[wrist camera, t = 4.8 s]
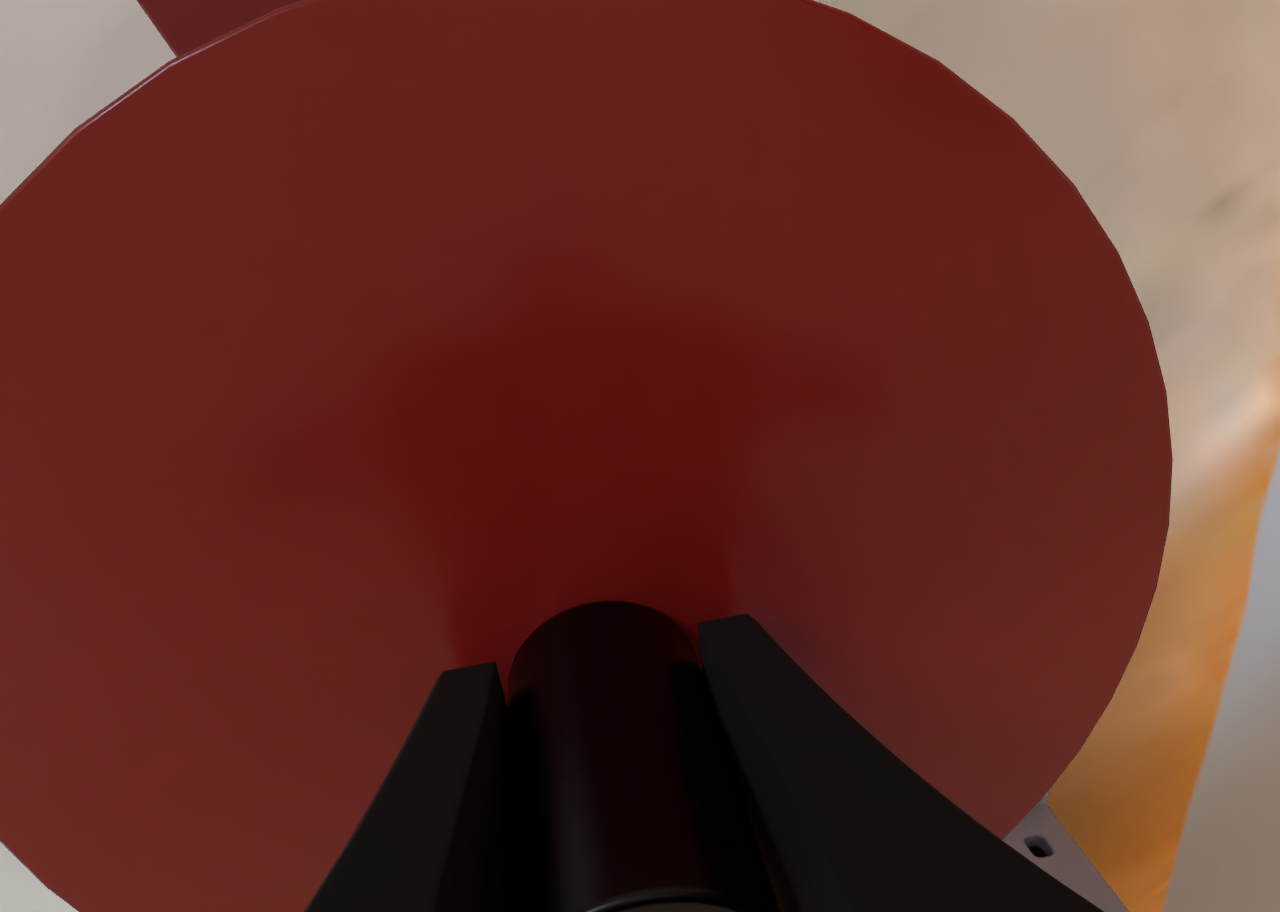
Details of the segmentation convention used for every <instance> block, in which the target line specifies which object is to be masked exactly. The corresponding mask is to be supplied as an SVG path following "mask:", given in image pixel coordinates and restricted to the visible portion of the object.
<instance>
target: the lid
mask: <svg viewBox="0 0 1280 912" xmlns="http://www.w3.org/2000/svg"><path fill="white" fill-rule="evenodd" d="M1171 476H1172V450H1171V439H1170V428H1169V417H1168V406H1167V395H1166V389H1165V385H1164V381H1163V377H1162V373H1161V369H1160V365H1159V361H1158V357H1157V353H1156V350H1155V346H1154V342H1153V338H1152V334H1151V330H1150V326H1149V322H1148V320H1147V317H1146V315H1145V313H1144V311H1143V308H1142V306H1141V304H1140V301H1139V299H1138V297H1137V294H1136V292H1135V290H1134V288H1133V285H1132V283H1131V281H1130V278H1129V276H1128V274H1127V272H1126V269H1125V267H1124V265H1123V262H1122V260H1121V258H1120V255H1119V253H1118V251H1117V250H1116V248H1115V247H1114V245H1113V244H1112V242H1111V241H1110V239H1109V238H1108V236H1107V235H1106V233H1105V231H1104V230H1103V228H1102V227H1101V225H1100V224H1099V222H1098V221H1097V219H1096V218H1095V216H1094V215H1093V213H1092V212H1091V210H1090V208H1089V207H1088V205H1087V204H1086V202H1085V201H1084V199H1083V198H1082V196H1081V195H1080V193H1079V192H1078V190H1077V188H1076V187H1075V185H1074V184H1073V183H1072V182H1071V181H1070V180H1069V179H1068V177H1067V176H1066V175H1065V174H1064V173H1063V172H1062V171H1061V170H1060V169H1059V168H1058V167H1057V166H1056V164H1055V163H1054V162H1053V161H1052V160H1051V159H1050V158H1049V157H1048V156H1047V155H1046V154H1045V153H1044V151H1043V150H1042V149H1041V148H1040V147H1039V146H1038V145H1037V144H1036V143H1035V142H1034V141H1033V140H1032V138H1031V137H1030V136H1029V135H1028V134H1027V133H1026V132H1025V131H1024V130H1023V129H1022V128H1021V127H1020V125H1019V124H1018V123H1017V122H1016V121H1015V120H1014V119H1013V118H1012V117H1010V116H1009V115H1008V114H1007V113H1005V112H1004V111H1003V110H1001V109H1000V108H999V107H998V106H996V105H995V104H994V103H992V102H991V101H990V100H988V99H987V98H986V97H985V96H983V95H982V94H981V93H979V92H978V91H977V90H976V89H974V88H973V87H972V86H970V85H969V84H968V83H966V82H965V81H964V80H963V79H961V78H960V77H959V76H957V75H956V74H955V73H954V72H952V71H951V70H950V69H948V68H947V67H946V66H944V65H943V64H942V63H941V62H939V61H938V60H936V59H934V58H932V57H930V56H928V55H927V54H925V53H923V52H921V51H919V50H917V49H915V48H914V47H912V46H910V45H908V44H906V43H904V42H902V41H901V40H899V39H897V38H895V37H893V36H891V35H889V34H888V33H886V32H884V31H882V30H880V29H878V28H876V27H875V26H873V25H871V24H869V23H867V22H865V21H863V20H861V19H860V18H858V17H856V16H854V15H852V14H850V13H848V12H845V11H842V10H839V9H836V8H833V7H830V6H828V5H825V4H822V3H819V2H816V1H813V0H303V1H299V2H296V3H293V4H289V5H286V6H283V7H280V8H277V9H275V10H273V11H271V12H268V13H266V14H264V15H262V16H260V17H258V18H256V19H254V20H252V21H250V22H248V23H246V24H244V25H242V26H240V27H238V28H236V29H234V30H232V31H230V32H228V33H226V34H224V35H222V36H220V37H217V38H215V39H213V40H211V41H209V42H207V43H205V44H203V45H201V46H199V47H197V48H195V49H193V50H191V51H189V52H187V53H185V54H183V55H181V56H179V57H177V58H175V59H173V60H171V61H169V62H167V63H166V64H165V65H163V66H162V67H160V68H159V69H158V70H156V71H155V72H153V73H152V74H151V75H149V76H148V77H146V78H145V79H144V80H142V81H141V82H139V83H138V84H137V85H135V86H134V87H132V88H131V89H130V90H128V91H127V92H126V93H124V94H123V95H121V96H120V97H119V98H117V99H116V100H114V101H113V102H112V103H110V104H109V105H107V106H106V107H105V108H103V109H102V110H100V111H99V112H98V113H96V114H95V115H93V116H92V117H91V118H89V119H88V120H86V121H85V122H84V123H82V124H81V125H79V126H78V127H77V128H75V129H74V130H73V131H72V132H71V133H70V134H69V135H68V136H67V137H66V138H65V139H64V140H63V141H62V142H61V143H60V144H59V145H58V146H57V147H56V149H55V150H54V151H53V152H52V153H51V154H50V155H49V156H48V157H47V158H46V159H45V160H44V161H43V162H42V163H41V164H40V165H39V166H38V167H37V168H36V169H35V170H34V171H33V172H32V173H31V174H30V175H29V176H28V177H27V178H26V179H25V180H24V181H23V182H22V183H21V184H20V185H19V186H18V187H17V188H16V189H15V190H14V191H13V192H12V193H11V194H10V195H9V196H8V197H7V198H6V199H5V201H4V202H3V203H2V204H1V205H0V842H1V843H2V844H3V845H4V846H5V847H6V848H7V849H8V850H9V851H10V852H11V853H12V854H13V855H14V856H15V857H16V858H17V859H18V860H19V861H20V862H21V863H22V864H23V865H24V866H26V867H27V868H28V869H29V870H30V871H31V872H32V873H33V874H34V875H35V876H36V877H37V878H38V879H39V880H40V881H41V882H42V883H43V884H44V885H45V886H46V887H47V888H48V889H50V890H51V891H52V892H54V893H55V894H56V895H57V896H59V897H60V898H61V899H63V900H64V901H65V902H67V903H68V904H69V905H71V906H72V907H73V908H75V909H76V910H77V911H79V912H304V910H305V908H306V907H307V905H308V904H309V902H310V901H311V899H312V898H313V896H314V894H315V893H316V891H317V890H318V888H319V887H320V885H321V883H322V882H323V880H324V879H325V877H326V876H327V874H328V873H329V871H330V869H331V868H332V866H333V865H334V863H335V862H336V860H337V858H338V857H339V855H340V854H341V852H342V850H343V849H344V847H345V846H346V844H347V842H348V841H349V839H350V837H351V836H352V834H353V832H354V830H355V829H356V827H357V825H358V824H359V822H360V820H361V818H362V817H363V815H364V813H365V811H366V810H367V808H368V806H369V804H370V803H371V801H372V799H373V798H374V796H375V794H376V792H377V791H378V789H379V787H380V785H381V784H382V782H383V780H384V779H385V777H386V775H387V773H388V771H389V770H390V768H391V766H392V764H393V762H394V760H395V759H396V757H397V755H398V753H399V751H400V749H401V747H402V746H403V744H404V742H405V740H406V738H407V736H408V734H409V732H410V731H411V729H412V727H413V725H414V723H415V721H416V719H417V717H418V715H419V713H420V711H421V709H422V707H423V705H424V703H425V701H426V699H427V697H428V695H429V693H430V691H431V689H432V687H433V685H434V683H435V681H436V680H437V678H438V677H439V676H440V675H441V673H442V672H443V671H446V670H452V669H457V668H462V667H467V666H473V665H478V664H483V663H488V662H494V661H496V665H497V669H498V673H499V677H500V681H501V684H502V688H503V692H504V696H505V700H506V704H507V746H506V783H505V817H504V856H503V896H502V912H780V910H779V907H778V904H777V901H776V898H775V895H774V892H773V889H772V886H771V883H770V880H769V877H768V874H767V871H766V867H765V864H764V861H763V858H762V855H761V852H760V849H759V846H758V843H757V840H756V837H755V834H754V831H753V828H752V825H751V822H750V819H749V815H748V812H747V809H746V806H745V803H744V800H743V797H742V794H741V791H740V788H739V785H738V782H737V779H736V776H735V773H734V770H733V767H732V763H731V760H730V757H729V754H728V751H727V748H726V745H725V742H724V739H723V736H722V733H721V730H720V727H719V724H718V721H717V718H716V715H715V712H714V708H713V705H712V702H711V699H710V696H709V693H708V690H707V687H706V684H705V681H704V678H703V675H702V667H701V658H700V648H699V639H698V629H697V623H698V622H703V621H709V620H714V619H719V618H724V617H730V616H735V615H740V614H745V613H747V614H748V615H750V616H751V617H753V618H754V619H755V620H756V621H757V622H758V623H759V624H760V625H761V626H762V627H763V628H764V629H765V631H766V632H767V633H768V634H769V635H770V636H771V637H772V638H773V639H774V640H775V641H776V642H777V644H778V645H779V646H780V647H781V648H782V649H783V650H784V651H785V652H786V653H787V654H788V655H789V656H790V657H791V658H792V659H793V660H794V661H795V662H796V663H797V664H798V665H799V666H800V667H801V668H802V669H803V670H804V671H805V672H806V673H807V674H808V675H809V676H810V677H811V678H812V679H813V680H814V681H815V682H816V683H817V684H818V685H819V686H820V687H821V688H822V689H823V690H824V691H825V692H826V693H827V694H828V695H829V696H830V697H831V698H832V699H833V700H834V701H836V702H837V703H838V704H839V705H840V706H841V707H842V708H843V709H844V710H845V711H846V712H848V713H849V714H850V715H851V716H852V717H853V718H854V719H855V720H856V721H857V722H859V723H860V724H861V725H862V726H863V727H864V728H865V729H866V730H867V731H868V732H870V733H871V734H872V735H873V736H874V737H875V738H876V739H877V740H878V741H879V742H881V743H882V744H883V745H884V746H885V747H886V748H888V749H889V750H890V751H891V752H892V753H893V754H894V755H896V756H897V757H898V758H899V759H900V760H901V761H903V762H904V763H905V764H906V765H907V766H908V767H910V768H911V769H912V770H913V771H915V772H916V773H917V774H918V775H919V776H921V777H922V778H923V779H924V780H926V781H927V782H928V783H929V784H930V785H932V786H933V787H934V788H935V789H937V790H938V791H939V792H940V793H941V794H943V795H944V796H945V797H946V798H948V799H949V800H950V801H951V802H953V803H954V804H955V805H957V806H958V807H959V808H960V809H962V810H963V811H964V812H965V813H967V814H968V815H969V816H971V817H972V818H973V819H974V820H976V821H977V822H978V823H980V824H981V825H982V826H984V827H985V828H986V829H988V830H989V831H990V832H992V833H993V834H994V835H996V836H997V837H998V838H1000V839H1001V840H1003V839H1004V838H1005V837H1006V836H1007V835H1008V834H1009V833H1010V832H1011V831H1012V830H1013V829H1014V828H1015V827H1016V826H1017V825H1018V823H1019V822H1020V821H1021V820H1022V819H1023V818H1024V817H1025V816H1026V815H1027V814H1028V813H1029V812H1030V811H1031V810H1032V809H1033V808H1034V807H1035V805H1036V804H1037V803H1038V802H1039V801H1040V800H1041V799H1042V798H1043V797H1044V796H1045V794H1046V793H1047V792H1048V790H1049V789H1050V788H1051V787H1052V785H1053V784H1054V783H1055V781H1056V780H1057V779H1058V778H1059V776H1060V775H1061V774H1062V772H1063V771H1064V770H1065V769H1066V767H1067V766H1068V765H1069V763H1070V762H1071V761H1072V760H1073V758H1074V757H1075V756H1076V754H1077V753H1078V752H1079V750H1080V749H1081V747H1082V746H1083V744H1084V742H1085V741H1086V739H1087V738H1088V736H1089V734H1090V733H1091V731H1092V730H1093V728H1094V726H1095V725H1096V723H1097V722H1098V720H1099V718H1100V717H1101V715H1102V713H1103V712H1104V710H1105V709H1106V707H1107V705H1108V704H1109V702H1110V701H1111V699H1112V697H1113V694H1114V692H1115V690H1116V688H1117V686H1118V684H1119V682H1120V680H1121V678H1122V676H1123V673H1124V671H1125V669H1126V667H1127V665H1128V663H1129V661H1130V659H1131V657H1132V655H1133V652H1134V650H1135V648H1136V646H1137V643H1138V640H1139V637H1140V634H1141V632H1142V629H1143V626H1144V623H1145V620H1146V617H1147V614H1148V611H1149V608H1150V605H1151V602H1152V599H1153V596H1154V593H1155V590H1156V587H1157V582H1158V577H1159V572H1160V567H1161V562H1162V556H1163V551H1164V546H1165V541H1166V536H1167V531H1168V526H1169V511H1170V494H1171Z"/></svg>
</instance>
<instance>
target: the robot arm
mask: <svg viewBox="0 0 1280 912" xmlns="http://www.w3.org/2000/svg"><path fill="white" fill-rule="evenodd" d="M697 629H698V639H699V648H700V658H701V667H702V675H703V678H704V681H705V684H706V687H707V690H708V693H709V696H710V699H711V702H712V705H713V708H714V712H715V715H716V718H717V721H718V724H719V727H720V730H721V733H722V736H723V739H724V742H725V745H726V748H727V751H728V754H729V757H730V760H731V763H732V767H733V770H734V773H735V776H736V779H737V782H738V785H739V788H740V791H741V794H742V797H743V800H744V803H745V806H746V809H747V812H748V815H749V819H750V822H751V825H752V828H753V831H754V834H755V837H756V840H757V843H758V846H759V849H760V852H761V855H762V858H763V861H764V864H765V867H766V871H767V874H768V877H769V880H770V883H771V886H772V889H773V892H774V895H775V898H776V901H777V904H778V907H779V910H780V912H1129V911H1128V910H1127V908H1126V907H1125V906H1124V905H1123V903H1122V902H1121V901H1120V899H1119V898H1118V897H1117V895H1116V894H1115V893H1114V892H1113V890H1112V889H1111V888H1110V886H1109V885H1108V884H1107V882H1106V881H1105V880H1104V879H1103V877H1102V876H1101V875H1100V873H1099V872H1098V871H1097V869H1096V868H1095V867H1094V866H1093V864H1092V863H1091V862H1090V860H1089V859H1088V858H1087V856H1086V855H1085V854H1084V853H1083V851H1082V850H1081V849H1080V847H1079V846H1078V845H1077V843H1076V842H1075V841H1074V840H1073V838H1072V837H1071V836H1070V834H1069V833H1068V832H1067V830H1066V829H1065V828H1064V827H1063V825H1062V824H1061V823H1060V821H1059V820H1058V819H1057V817H1056V816H1055V815H1054V814H1053V812H1052V811H1051V810H1050V808H1049V807H1048V806H1047V805H1046V804H1047V798H1048V792H1049V791H1048V792H1047V793H1046V794H1045V796H1044V797H1043V798H1042V799H1041V800H1040V801H1039V802H1038V803H1037V804H1036V805H1035V807H1034V808H1033V809H1032V810H1031V811H1030V812H1029V813H1028V814H1027V815H1026V816H1025V817H1024V818H1023V819H1022V820H1021V821H1020V822H1019V823H1018V825H1017V826H1016V827H1015V828H1014V829H1013V830H1012V831H1011V832H1010V833H1009V834H1008V835H1007V836H1006V837H1005V838H1004V839H1003V840H1001V839H1000V838H998V837H997V836H996V835H994V834H993V833H992V832H990V831H989V830H988V829H986V828H985V827H984V826H982V825H981V824H980V823H978V822H977V821H976V820H974V819H973V818H972V817H971V816H969V815H968V814H967V813H965V812H964V811H963V810H962V809H960V808H959V807H958V806H957V805H955V804H954V803H953V802H951V801H950V800H949V799H948V798H946V797H945V796H944V795H943V794H941V793H940V792H939V791H938V790H937V789H935V788H934V787H933V786H932V785H930V784H929V783H928V782H927V781H926V780H924V779H923V778H922V777H921V776H919V775H918V774H917V773H916V772H915V771H913V770H912V769H911V768H910V767H908V766H907V765H906V764H905V763H904V762H903V761H901V760H900V759H899V758H898V757H897V756H896V755H894V754H893V753H892V752H891V751H890V750H889V749H888V748H886V747H885V746H884V745H883V744H882V743H881V742H879V741H878V740H877V739H876V738H875V737H874V736H873V735H872V734H871V733H870V732H868V731H867V730H866V729H865V728H864V727H863V726H862V725H861V724H860V723H859V722H857V721H856V720H855V719H854V718H853V717H852V716H851V715H850V714H849V713H848V712H846V711H845V710H844V709H843V708H842V707H841V706H840V705H839V704H838V703H837V702H836V701H834V700H833V699H832V698H831V697H830V696H829V695H828V694H827V693H826V692H825V691H824V690H823V689H822V688H821V687H820V686H819V685H818V684H817V683H816V682H815V681H814V680H813V679H812V678H811V677H810V676H809V675H808V674H807V673H806V672H805V671H804V670H803V669H802V668H801V667H800V666H799V665H798V664H797V663H796V662H795V661H794V660H793V659H792V658H791V657H790V656H789V655H788V654H787V653H786V652H785V651H784V650H783V649H782V648H781V647H780V646H779V645H778V644H777V642H776V641H775V640H774V639H773V638H772V637H771V636H770V635H769V634H768V633H767V632H766V631H765V629H764V628H763V627H762V626H761V625H760V624H759V623H758V622H757V621H756V620H755V619H754V618H753V617H751V616H750V615H748V614H747V613H745V614H740V615H735V616H730V617H724V618H719V619H714V620H709V621H703V622H698V623H697ZM506 746H507V704H506V700H505V696H504V692H503V688H502V684H501V681H500V677H499V673H498V669H497V665H496V661H494V662H488V663H483V664H478V665H473V666H467V667H462V668H457V669H452V670H446V671H443V672H442V673H441V675H440V676H439V677H438V678H437V680H436V681H435V683H434V685H433V687H432V689H431V691H430V693H429V695H428V697H427V699H426V701H425V703H424V705H423V707H422V709H421V711H420V713H419V715H418V717H417V719H416V721H415V723H414V725H413V727H412V729H411V731H410V732H409V734H408V736H407V738H406V740H405V742H404V744H403V746H402V747H401V749H400V751H399V753H398V755H397V757H396V759H395V760H394V762H393V764H392V766H391V768H390V770H389V771H388V773H387V775H386V777H385V779H384V780H383V782H382V784H381V785H380V787H379V789H378V791H377V792H376V794H375V796H374V798H373V799H372V801H371V803H370V804H369V806H368V808H367V810H366V811H365V813H364V815H363V817H362V818H361V820H360V822H359V824H358V825H357V827H356V829H355V830H354V832H353V834H352V836H351V837H350V839H349V841H348V842H347V844H346V846H345V847H344V849H343V850H342V852H341V854H340V855H339V857H338V858H337V860H336V862H335V863H334V865H333V866H332V868H331V869H330V871H329V873H328V874H327V876H326V877H325V879H324V880H323V882H322V883H321V885H320V887H319V888H318V890H317V891H316V893H315V894H314V896H313V898H312V899H311V901H310V902H309V904H308V905H307V907H306V908H305V910H304V912H502V896H503V856H504V817H505V783H506Z"/></svg>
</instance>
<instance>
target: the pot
mask: <svg viewBox="0 0 1280 912" xmlns="http://www.w3.org/2000/svg"><path fill="white" fill-rule="evenodd" d="M137 1H138V3H139V4H140V6H141V7H142V8H143V10H144V11H145V13H146V14H147V15H148V17H149V18H150V20H151V21H152V23H153V24H154V25H155V27H156V28H157V30H158V31H159V33H160V34H161V35H162V37H163V38H164V40H165V41H166V43H167V44H168V45H169V47H170V48H171V50H172V51H173V52H174V54H175V55H176V57H179V56H181V55H183V54H185V53H187V52H189V51H191V50H193V49H195V48H197V47H199V46H201V45H203V44H205V43H207V42H209V41H211V40H213V39H215V38H217V37H220V36H222V35H224V34H226V33H228V32H230V31H232V30H234V29H236V28H238V27H240V26H242V25H244V24H246V23H248V22H250V21H252V20H254V19H256V18H258V17H260V16H262V15H264V14H266V13H268V12H271V11H273V10H275V9H277V8H280V7H283V6H286V5H289V4H293V3H296V2H299V1H303V0H137Z"/></svg>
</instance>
